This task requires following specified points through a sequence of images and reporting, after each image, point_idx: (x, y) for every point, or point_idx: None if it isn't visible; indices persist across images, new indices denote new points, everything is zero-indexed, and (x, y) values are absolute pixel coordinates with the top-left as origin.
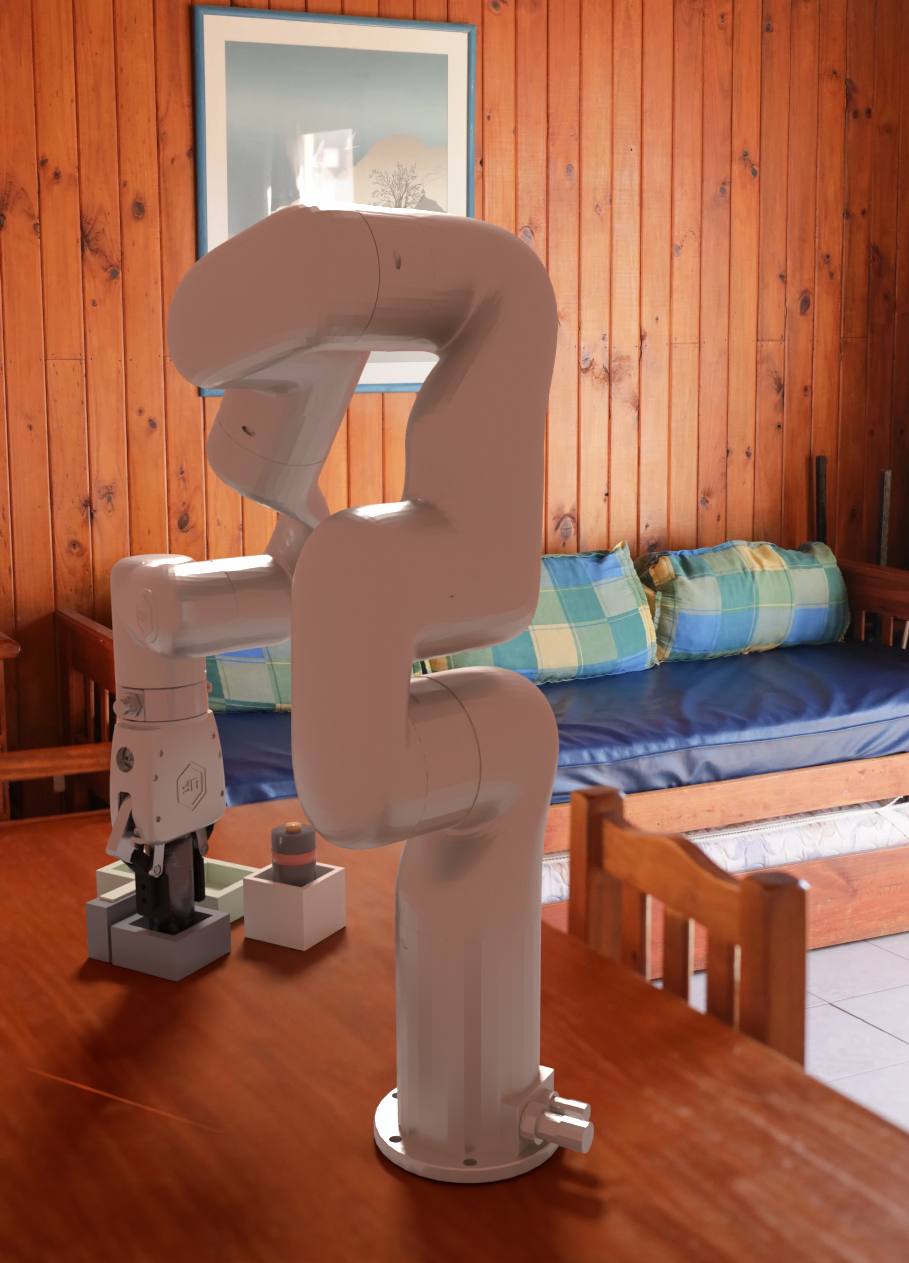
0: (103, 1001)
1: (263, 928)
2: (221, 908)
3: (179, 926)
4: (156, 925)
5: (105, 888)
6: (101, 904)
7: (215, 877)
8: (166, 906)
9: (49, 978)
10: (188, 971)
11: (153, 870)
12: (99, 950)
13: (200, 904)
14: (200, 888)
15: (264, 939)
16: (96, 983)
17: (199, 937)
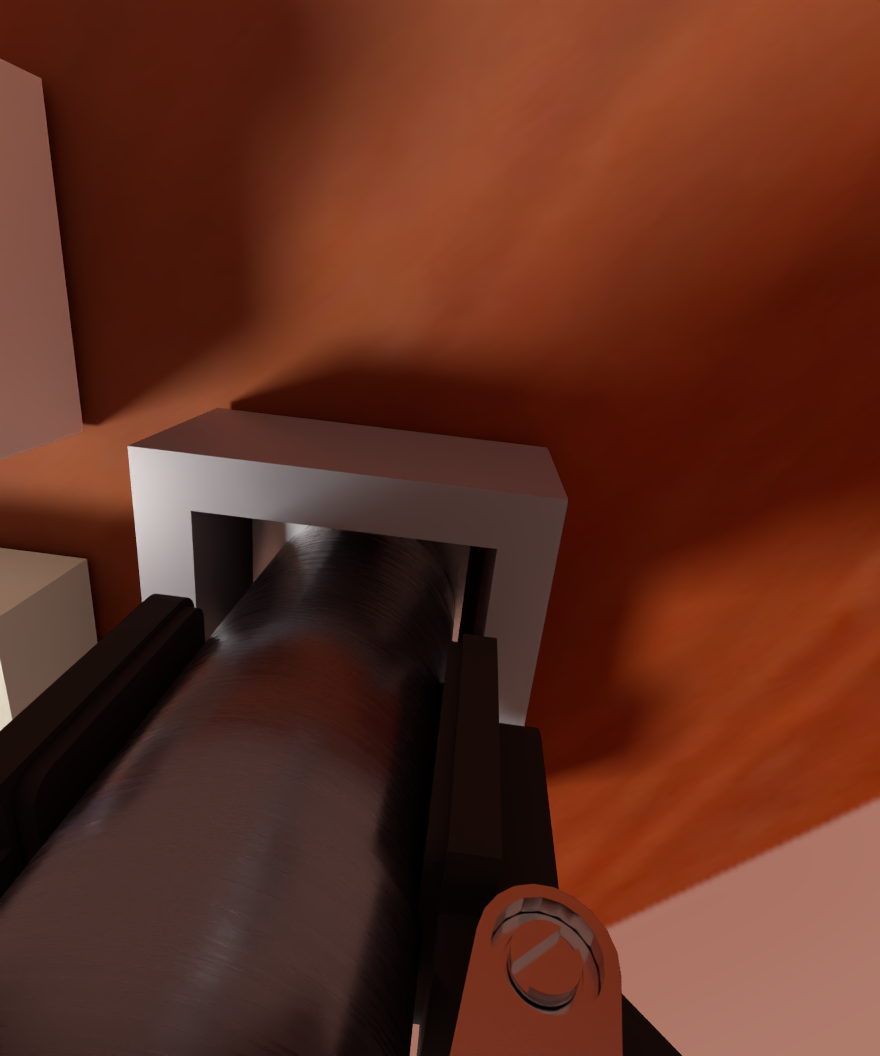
0: (751, 603)
1: (30, 334)
2: (14, 590)
3: (403, 578)
4: None
5: None
6: None
7: None
8: (482, 675)
9: (637, 821)
10: (479, 442)
11: (607, 979)
12: None
13: (43, 678)
14: (149, 639)
15: (64, 328)
16: (627, 693)
17: (387, 464)
